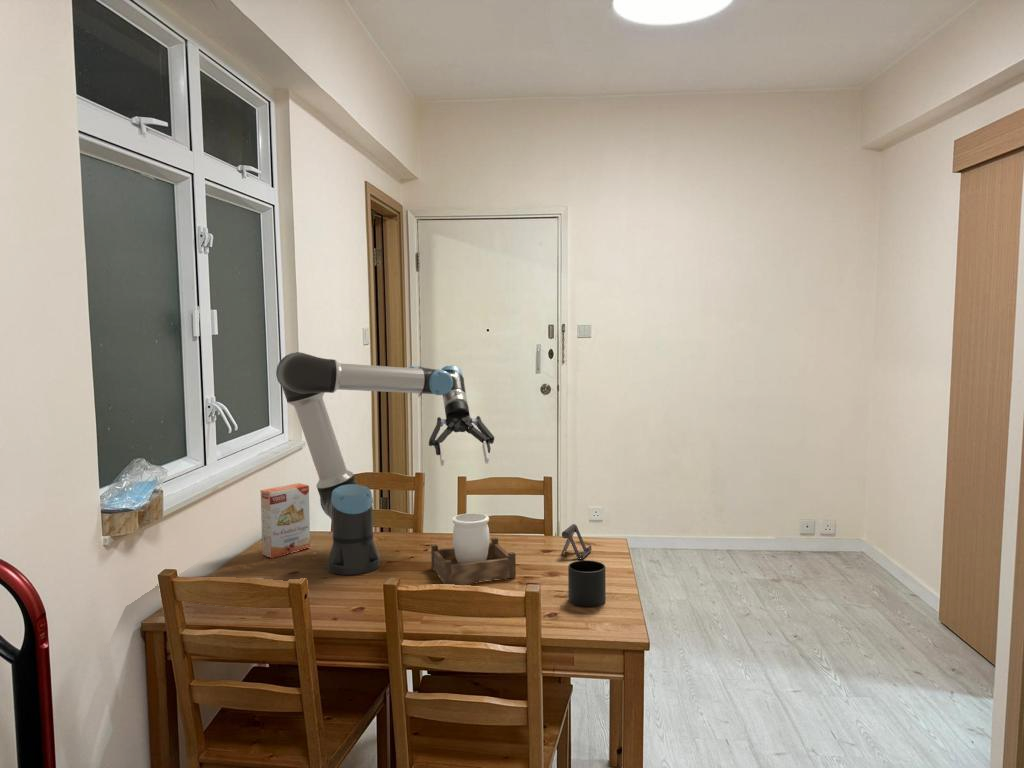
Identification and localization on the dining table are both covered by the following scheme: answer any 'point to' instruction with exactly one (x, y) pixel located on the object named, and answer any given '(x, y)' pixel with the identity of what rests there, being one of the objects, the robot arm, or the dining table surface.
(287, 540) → the cracker box
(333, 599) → the dining table surface
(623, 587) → the dining table surface
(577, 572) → the mug
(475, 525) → the jar
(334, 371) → the robot arm
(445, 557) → the crate
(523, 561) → the dining table surface
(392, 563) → the dining table surface
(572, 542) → the portable electronic device stand
